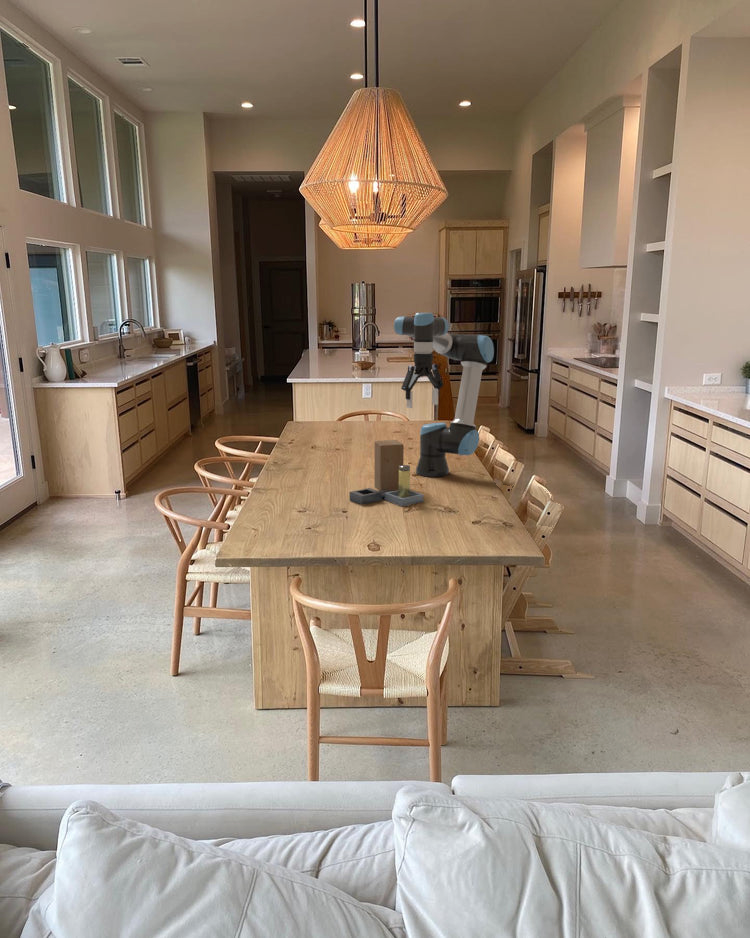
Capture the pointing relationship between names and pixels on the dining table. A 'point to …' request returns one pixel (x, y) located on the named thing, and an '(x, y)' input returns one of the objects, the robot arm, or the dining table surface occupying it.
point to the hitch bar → (367, 496)
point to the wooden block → (388, 464)
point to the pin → (404, 481)
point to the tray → (395, 498)
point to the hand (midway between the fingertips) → (422, 406)
